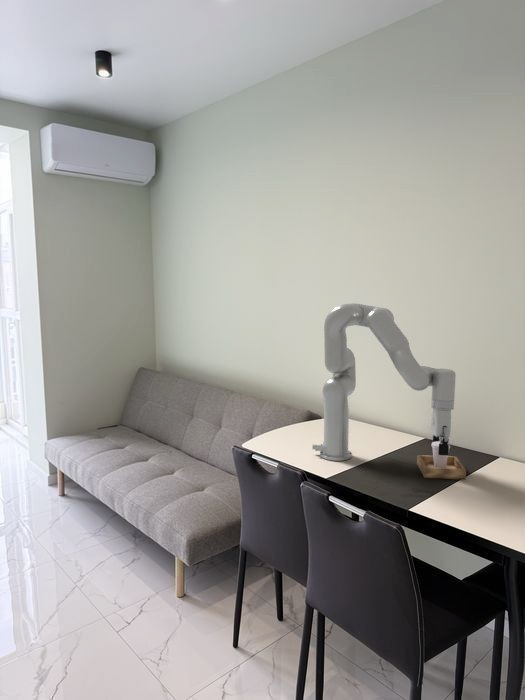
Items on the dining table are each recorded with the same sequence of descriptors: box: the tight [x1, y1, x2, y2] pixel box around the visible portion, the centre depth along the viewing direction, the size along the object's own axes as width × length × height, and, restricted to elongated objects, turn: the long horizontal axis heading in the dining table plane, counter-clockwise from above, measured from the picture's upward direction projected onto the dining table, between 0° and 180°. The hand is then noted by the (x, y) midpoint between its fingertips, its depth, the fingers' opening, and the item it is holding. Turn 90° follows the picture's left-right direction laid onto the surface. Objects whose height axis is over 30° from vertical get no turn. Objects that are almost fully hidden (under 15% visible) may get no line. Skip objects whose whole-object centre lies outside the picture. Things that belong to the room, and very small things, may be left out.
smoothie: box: [431, 438, 451, 468], centre depth 181 cm, size 6×6×14 cm
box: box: [416, 454, 467, 480], centre depth 182 cm, size 14×14×4 cm
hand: (440, 450), depth 181 cm, fingers open, 9 cm apart
